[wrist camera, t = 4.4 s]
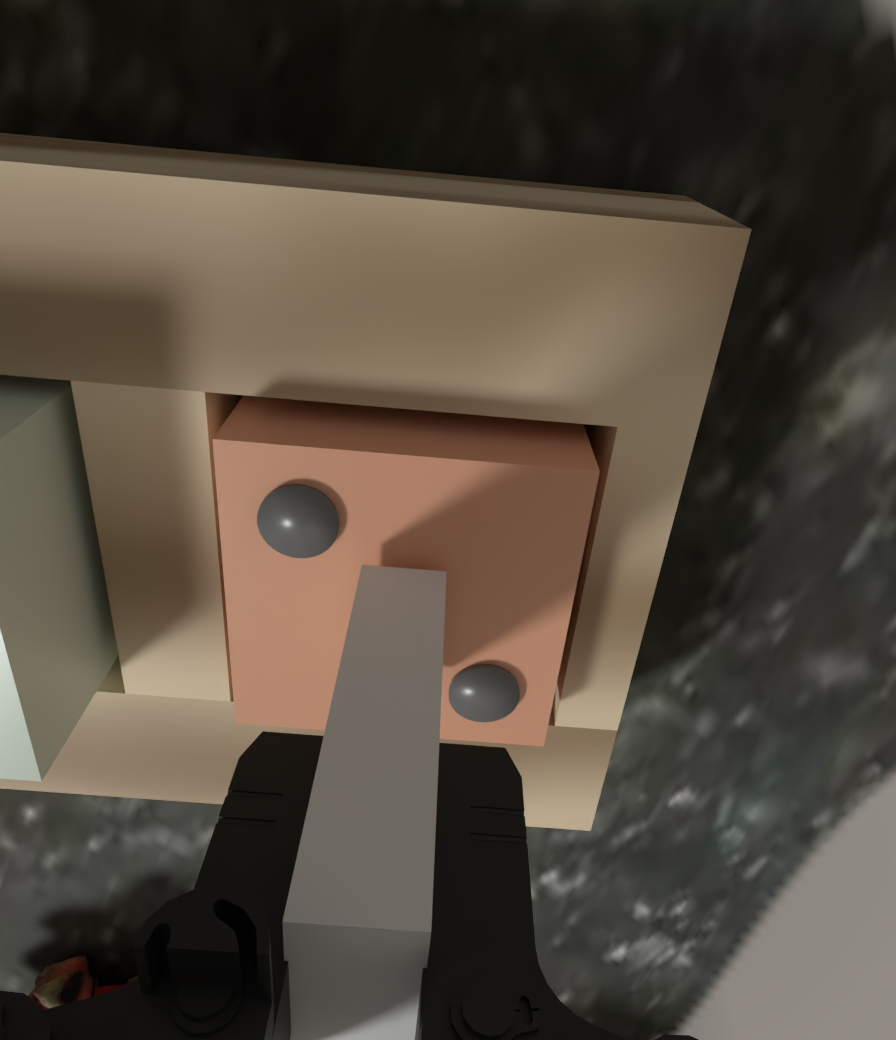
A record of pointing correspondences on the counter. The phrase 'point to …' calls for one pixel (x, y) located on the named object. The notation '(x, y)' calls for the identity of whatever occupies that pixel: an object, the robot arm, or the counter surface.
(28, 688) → the key two
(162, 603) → the key panel
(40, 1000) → the dragon fruit
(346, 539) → the key three
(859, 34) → the counter surface
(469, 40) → the counter surface
